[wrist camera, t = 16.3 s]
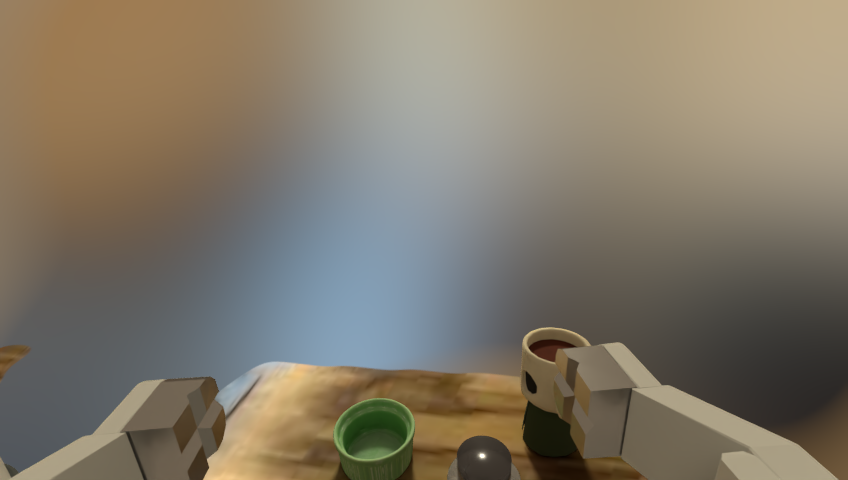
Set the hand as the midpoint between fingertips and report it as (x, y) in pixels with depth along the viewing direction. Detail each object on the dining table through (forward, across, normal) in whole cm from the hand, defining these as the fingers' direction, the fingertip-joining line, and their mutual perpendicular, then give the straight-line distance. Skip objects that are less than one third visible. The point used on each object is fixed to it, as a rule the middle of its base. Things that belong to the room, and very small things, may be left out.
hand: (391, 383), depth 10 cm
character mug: (+27, +16, -32) cm, 45 cm away
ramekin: (+27, -4, -32) cm, 42 cm away
